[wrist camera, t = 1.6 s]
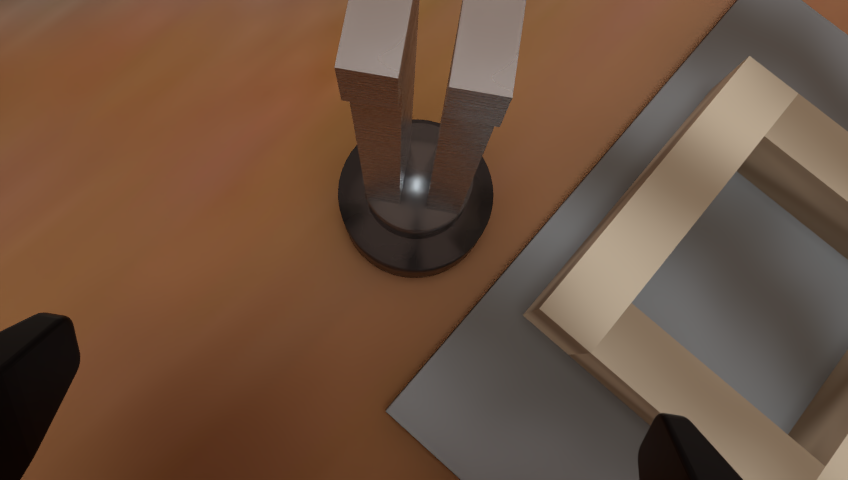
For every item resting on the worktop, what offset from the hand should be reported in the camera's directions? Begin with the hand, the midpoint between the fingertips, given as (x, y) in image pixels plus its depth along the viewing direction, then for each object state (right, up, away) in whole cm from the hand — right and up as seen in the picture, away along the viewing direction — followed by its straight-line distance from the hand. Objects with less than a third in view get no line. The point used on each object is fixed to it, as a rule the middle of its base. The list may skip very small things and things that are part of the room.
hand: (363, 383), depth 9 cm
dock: (+12, 0, +13) cm, 18 cm away
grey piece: (+1, +3, +13) cm, 14 cm away
